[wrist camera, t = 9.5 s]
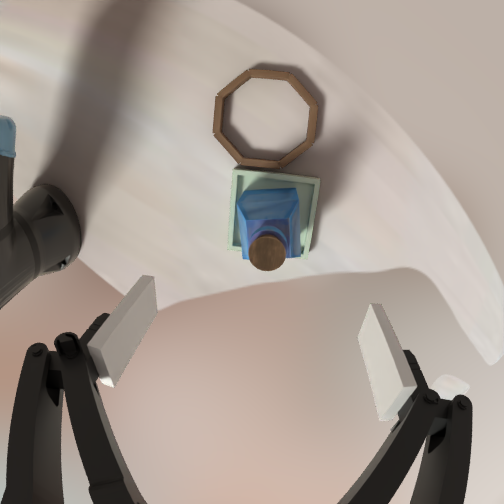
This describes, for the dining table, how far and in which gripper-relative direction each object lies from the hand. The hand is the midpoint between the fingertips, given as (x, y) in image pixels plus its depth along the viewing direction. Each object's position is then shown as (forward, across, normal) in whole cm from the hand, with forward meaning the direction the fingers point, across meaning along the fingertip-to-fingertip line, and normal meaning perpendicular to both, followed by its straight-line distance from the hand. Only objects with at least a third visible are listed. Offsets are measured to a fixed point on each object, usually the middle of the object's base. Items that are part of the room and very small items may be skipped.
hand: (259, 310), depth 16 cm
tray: (+20, 0, 0) cm, 21 cm away
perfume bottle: (+20, 0, 0) cm, 20 cm away
